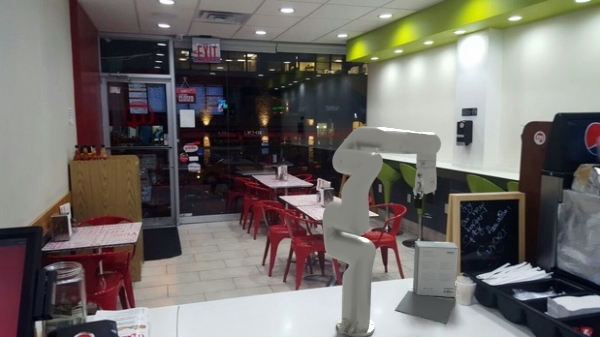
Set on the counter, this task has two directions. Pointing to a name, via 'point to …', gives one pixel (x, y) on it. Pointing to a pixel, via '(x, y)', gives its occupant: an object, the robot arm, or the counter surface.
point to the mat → (426, 307)
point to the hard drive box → (435, 268)
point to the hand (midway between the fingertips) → (424, 205)
